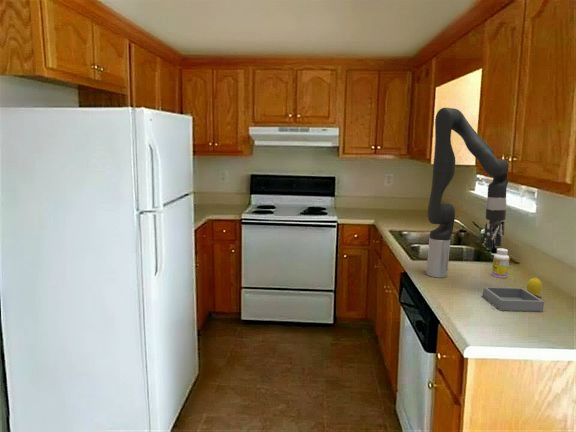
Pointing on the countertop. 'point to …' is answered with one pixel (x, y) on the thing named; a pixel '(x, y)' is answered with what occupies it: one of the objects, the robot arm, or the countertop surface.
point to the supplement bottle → (500, 263)
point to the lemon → (534, 286)
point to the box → (513, 299)
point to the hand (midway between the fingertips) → (493, 247)
